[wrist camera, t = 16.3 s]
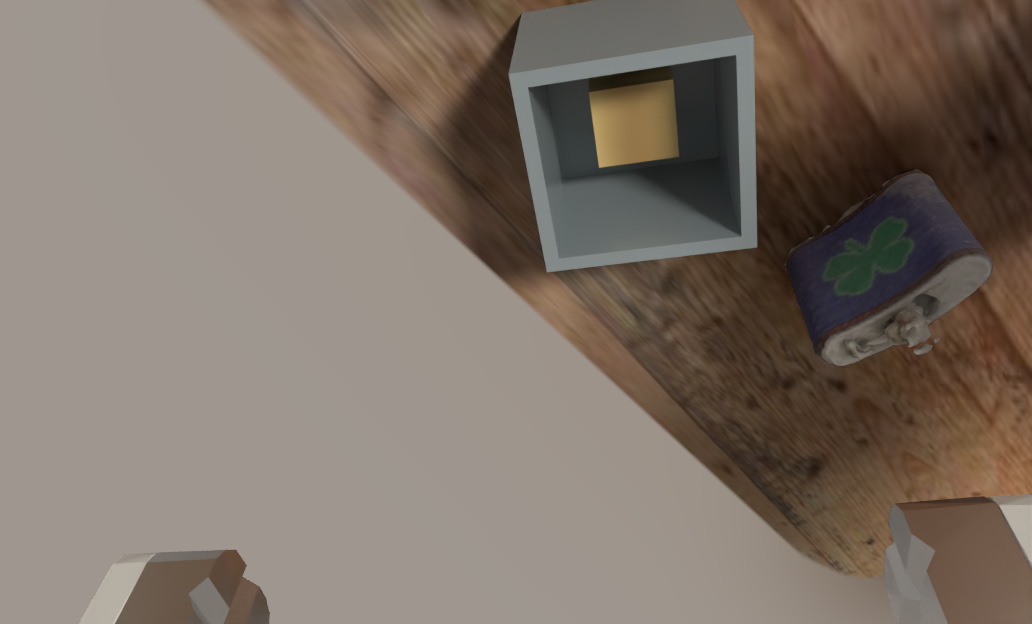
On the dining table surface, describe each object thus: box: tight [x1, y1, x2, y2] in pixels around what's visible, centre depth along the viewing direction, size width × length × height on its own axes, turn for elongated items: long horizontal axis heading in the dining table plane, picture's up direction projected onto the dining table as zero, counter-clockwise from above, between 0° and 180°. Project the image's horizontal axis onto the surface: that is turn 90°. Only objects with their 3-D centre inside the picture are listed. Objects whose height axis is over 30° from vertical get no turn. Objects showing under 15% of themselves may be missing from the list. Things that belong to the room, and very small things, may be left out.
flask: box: [784, 169, 993, 366], centre depth 43 cm, size 9×3×11 cm, turn 136°
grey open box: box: [509, 0, 757, 272], centre depth 40 cm, size 10×10×9 cm
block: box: [589, 65, 679, 168], centre depth 41 cm, size 4×4×4 cm
